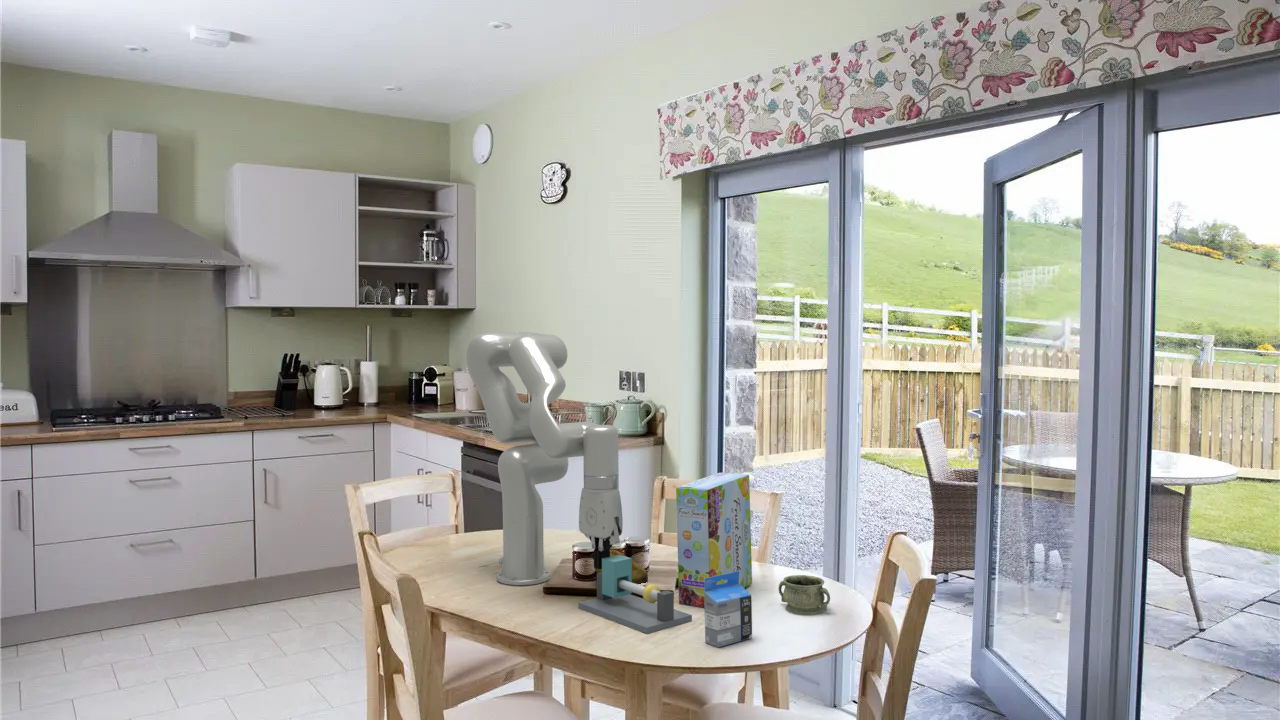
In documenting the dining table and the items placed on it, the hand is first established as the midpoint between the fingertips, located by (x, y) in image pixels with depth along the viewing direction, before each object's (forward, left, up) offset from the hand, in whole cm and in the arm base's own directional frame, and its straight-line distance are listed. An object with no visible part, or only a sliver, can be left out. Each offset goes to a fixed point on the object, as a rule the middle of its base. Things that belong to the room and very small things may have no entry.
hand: (602, 567), depth 195 cm
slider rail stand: (+10, 0, -8) cm, 13 cm away
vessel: (+32, +29, -8) cm, 44 cm away
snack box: (+12, +23, -8) cm, 27 cm away
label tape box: (+34, +3, -8) cm, 36 cm away
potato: (-7, +11, -8) cm, 16 cm away
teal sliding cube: (+5, 0, -5) cm, 7 cm away
